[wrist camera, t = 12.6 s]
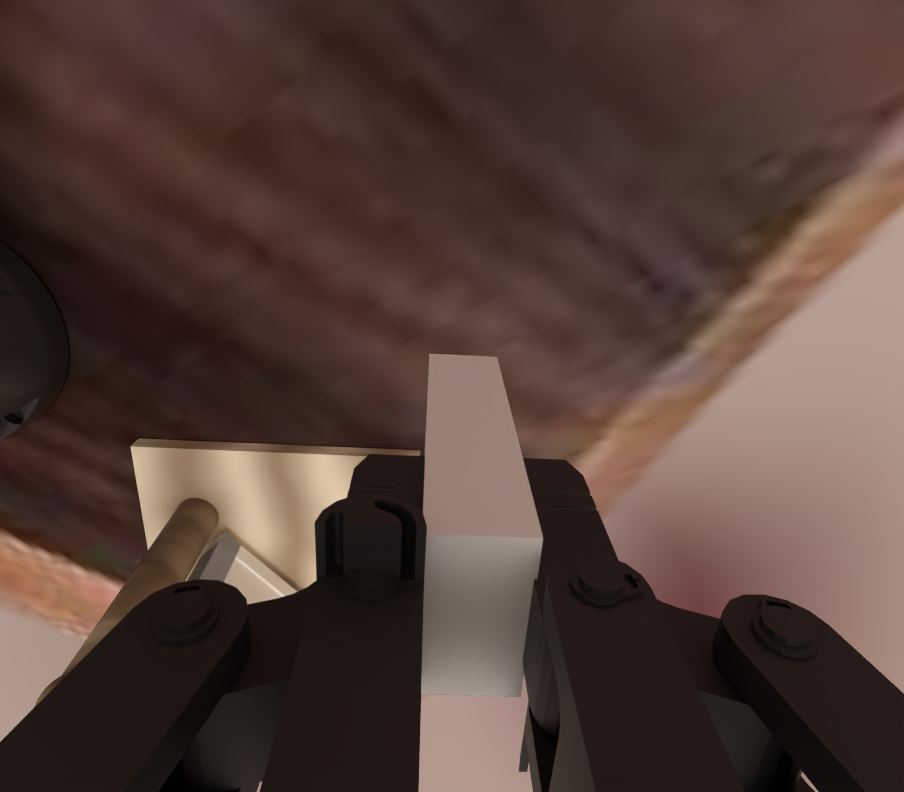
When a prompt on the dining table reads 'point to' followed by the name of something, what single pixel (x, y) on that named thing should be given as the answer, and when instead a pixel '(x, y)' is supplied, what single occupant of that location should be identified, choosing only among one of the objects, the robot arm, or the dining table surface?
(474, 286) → the dining table surface
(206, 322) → the dining table surface
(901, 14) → the dining table surface
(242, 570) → the gate
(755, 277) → the dining table surface
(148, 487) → the gate frame
